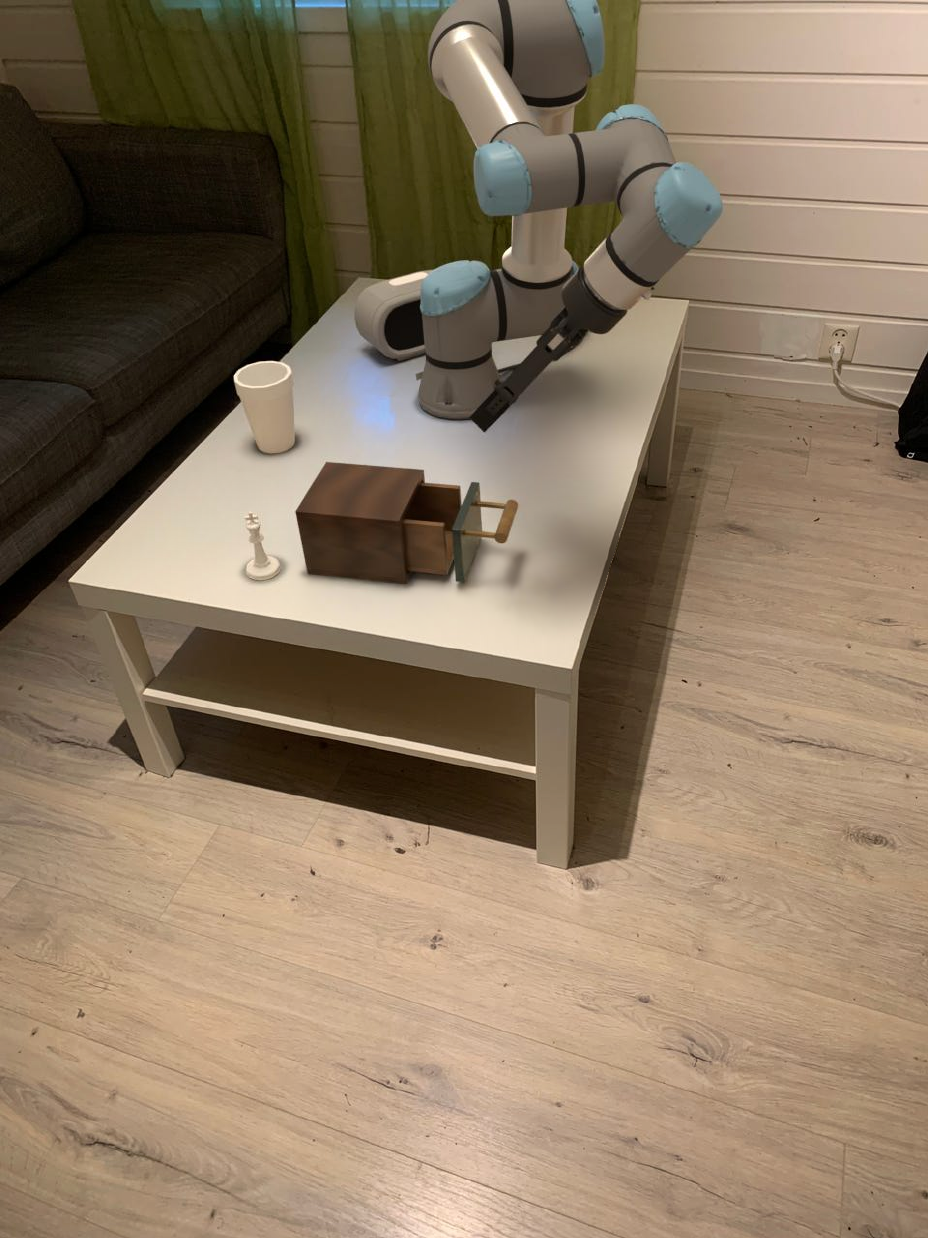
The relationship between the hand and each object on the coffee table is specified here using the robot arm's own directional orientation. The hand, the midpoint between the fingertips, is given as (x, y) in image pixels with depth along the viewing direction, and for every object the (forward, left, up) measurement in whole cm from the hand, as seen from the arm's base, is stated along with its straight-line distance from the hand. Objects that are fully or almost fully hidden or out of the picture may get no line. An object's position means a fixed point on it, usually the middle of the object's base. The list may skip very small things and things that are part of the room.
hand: (498, 401), depth 130 cm
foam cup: (+19, -47, -24) cm, 56 cm away
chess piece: (+32, -14, -24) cm, 42 cm away
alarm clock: (-17, -68, -24) cm, 74 cm away
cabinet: (+17, -10, -24) cm, 31 cm away
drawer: (+8, -2, -23) cm, 24 cm away
